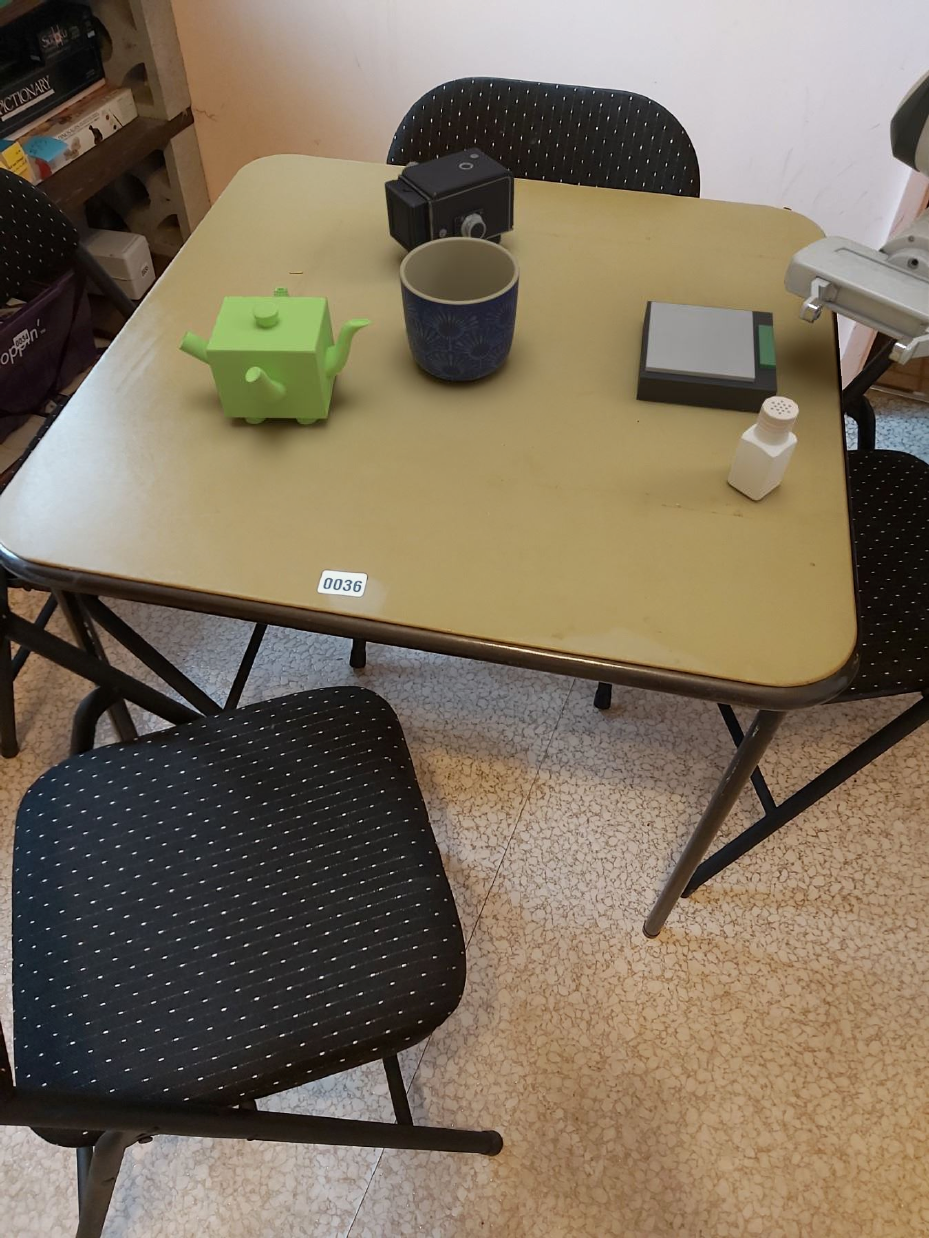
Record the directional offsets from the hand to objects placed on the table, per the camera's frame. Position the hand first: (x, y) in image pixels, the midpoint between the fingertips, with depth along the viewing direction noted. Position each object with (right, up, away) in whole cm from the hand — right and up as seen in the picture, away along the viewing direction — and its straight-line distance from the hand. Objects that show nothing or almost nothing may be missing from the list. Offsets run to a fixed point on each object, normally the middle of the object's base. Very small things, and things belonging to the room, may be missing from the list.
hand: (851, 334), depth 79 cm
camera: (-38, +20, +29) cm, 52 cm away
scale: (-10, +1, +14) cm, 18 cm away
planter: (-37, +3, +16) cm, 40 cm away
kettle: (-56, -4, +11) cm, 57 cm away
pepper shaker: (-8, -14, +4) cm, 16 cm away
